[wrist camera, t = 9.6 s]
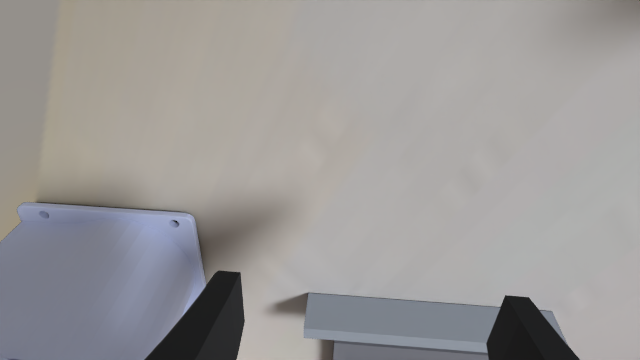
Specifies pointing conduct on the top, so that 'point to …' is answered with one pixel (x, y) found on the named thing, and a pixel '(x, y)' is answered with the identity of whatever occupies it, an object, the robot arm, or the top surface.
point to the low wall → (403, 322)
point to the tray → (398, 352)
